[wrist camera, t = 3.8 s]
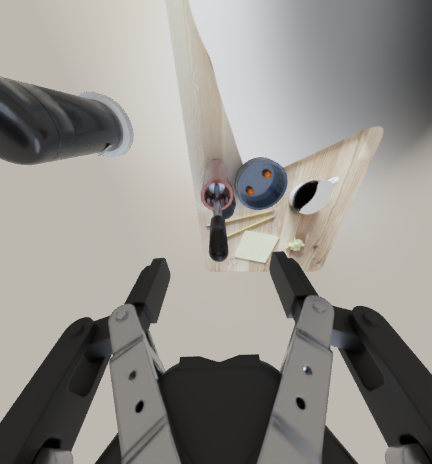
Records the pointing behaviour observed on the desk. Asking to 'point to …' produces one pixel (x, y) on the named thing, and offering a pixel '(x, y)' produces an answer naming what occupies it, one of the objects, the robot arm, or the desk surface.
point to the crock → (216, 175)
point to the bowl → (260, 183)
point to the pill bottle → (229, 209)
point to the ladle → (218, 227)
